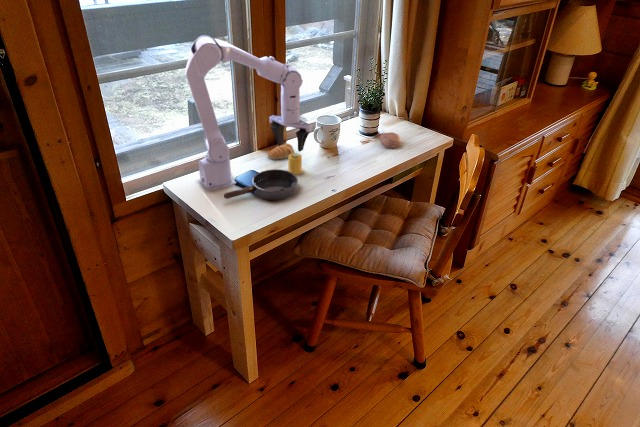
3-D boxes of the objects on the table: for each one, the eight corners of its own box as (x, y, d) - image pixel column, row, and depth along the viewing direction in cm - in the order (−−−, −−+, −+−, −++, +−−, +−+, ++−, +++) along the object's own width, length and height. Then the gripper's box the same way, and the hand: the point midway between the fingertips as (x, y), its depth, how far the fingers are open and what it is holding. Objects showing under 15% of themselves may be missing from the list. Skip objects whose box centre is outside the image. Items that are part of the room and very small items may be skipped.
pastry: (274, 163, 163) (274, 153, 161) (263, 156, 168) (263, 146, 165) (296, 156, 168) (296, 146, 166) (285, 149, 173) (285, 140, 170)
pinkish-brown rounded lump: (373, 141, 180) (382, 144, 173) (380, 126, 179) (389, 129, 172) (389, 149, 183) (398, 152, 176) (396, 134, 182) (405, 137, 175)
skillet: (265, 206, 140) (264, 195, 138) (245, 185, 150) (244, 175, 148) (305, 194, 146) (305, 184, 144) (284, 175, 156) (284, 165, 154)
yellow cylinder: (292, 176, 155) (292, 158, 152) (286, 171, 159) (285, 153, 155) (304, 173, 157) (304, 155, 154) (297, 168, 161) (297, 150, 157)
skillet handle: (225, 200, 139) (224, 195, 138) (222, 197, 140) (222, 192, 139) (258, 191, 144) (258, 186, 143) (256, 188, 145) (255, 183, 144)
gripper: (317, 107, 146) (316, 148, 154) (277, 99, 152) (278, 138, 159) (305, 115, 141) (305, 156, 148) (265, 105, 146) (266, 145, 154)
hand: (290, 147), depth 153 cm, fingers open, 7 cm apart
